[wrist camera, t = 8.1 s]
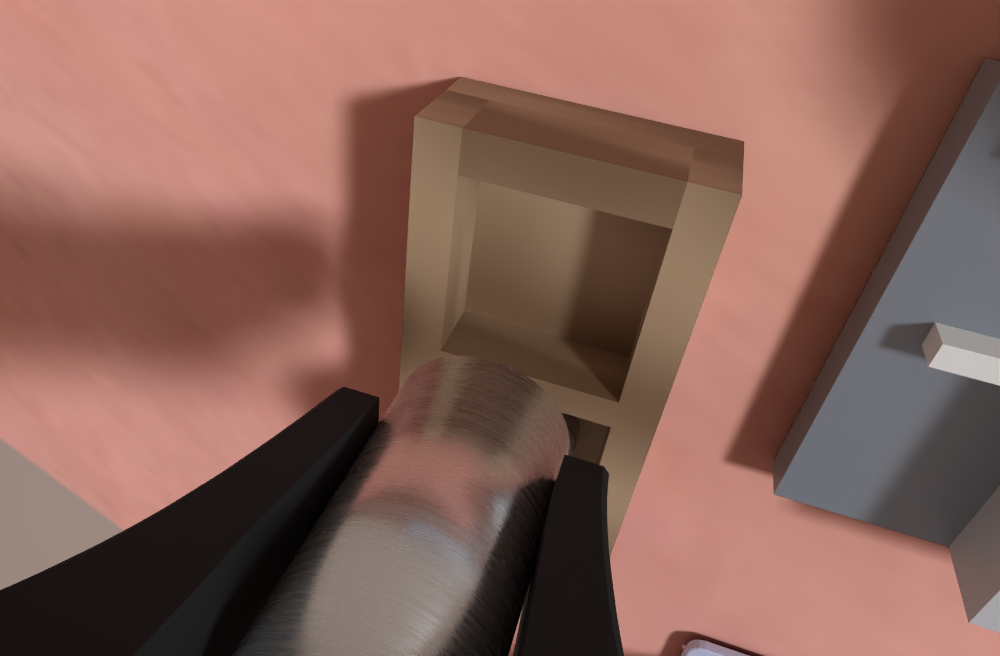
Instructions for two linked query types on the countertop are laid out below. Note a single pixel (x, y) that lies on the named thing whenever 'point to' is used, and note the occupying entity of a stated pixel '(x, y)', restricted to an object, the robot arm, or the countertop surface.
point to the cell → (427, 525)
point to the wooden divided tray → (565, 255)
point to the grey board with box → (922, 371)
